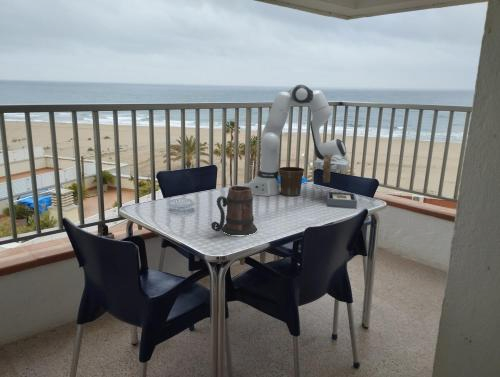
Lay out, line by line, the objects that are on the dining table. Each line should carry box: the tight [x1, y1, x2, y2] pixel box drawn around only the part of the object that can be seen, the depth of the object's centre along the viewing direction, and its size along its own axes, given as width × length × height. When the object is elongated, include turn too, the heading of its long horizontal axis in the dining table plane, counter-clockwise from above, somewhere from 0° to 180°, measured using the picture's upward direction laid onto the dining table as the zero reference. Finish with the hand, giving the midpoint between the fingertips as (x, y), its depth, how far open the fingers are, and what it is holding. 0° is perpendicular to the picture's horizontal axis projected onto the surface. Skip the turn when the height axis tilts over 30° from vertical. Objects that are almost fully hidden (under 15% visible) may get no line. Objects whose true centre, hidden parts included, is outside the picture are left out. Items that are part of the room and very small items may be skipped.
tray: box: [326, 191, 358, 209], centre depth 211 cm, size 16×16×4 cm
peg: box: [322, 154, 331, 184], centre depth 208 cm, size 4×4×16 cm
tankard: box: [210, 185, 258, 236], centre depth 164 cm, size 24×17×20 cm
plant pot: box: [278, 166, 305, 197], centre depth 229 cm, size 16×16×16 cm
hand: (326, 167), depth 207 cm, fingers closed on peg, 4 cm apart
